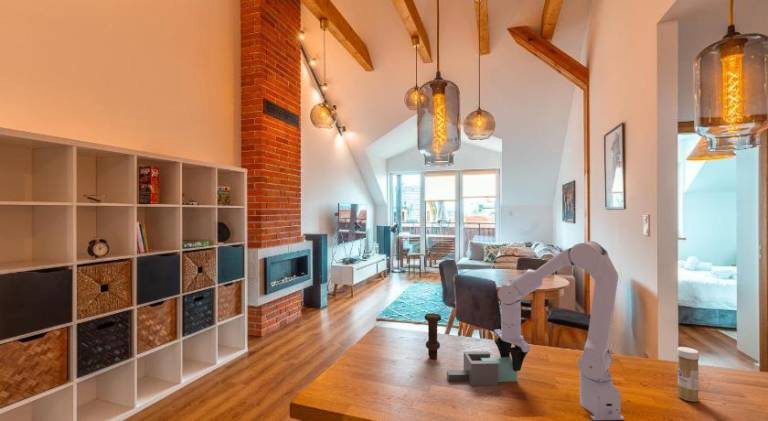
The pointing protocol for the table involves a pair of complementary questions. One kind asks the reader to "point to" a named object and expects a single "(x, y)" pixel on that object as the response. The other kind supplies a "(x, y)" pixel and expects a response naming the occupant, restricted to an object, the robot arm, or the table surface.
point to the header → (476, 370)
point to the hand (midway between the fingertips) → (511, 366)
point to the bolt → (432, 334)
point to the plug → (504, 368)
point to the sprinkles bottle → (688, 373)
